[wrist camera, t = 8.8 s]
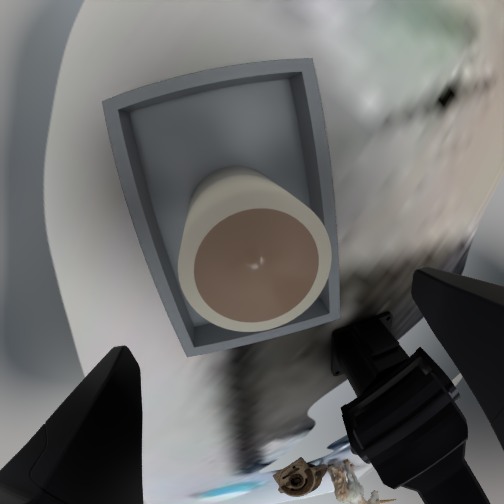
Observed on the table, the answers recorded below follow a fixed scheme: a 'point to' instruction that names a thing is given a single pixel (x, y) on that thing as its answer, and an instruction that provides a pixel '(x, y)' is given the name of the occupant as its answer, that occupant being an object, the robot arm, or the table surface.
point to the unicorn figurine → (350, 486)
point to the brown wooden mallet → (300, 478)
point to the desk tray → (216, 157)
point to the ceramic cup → (251, 252)
